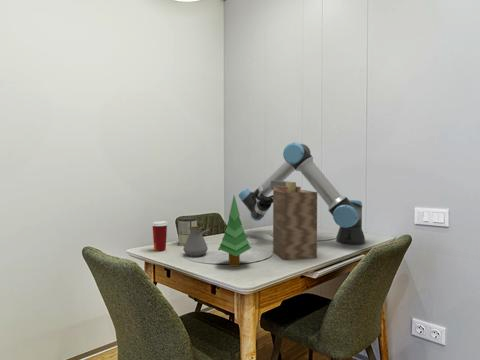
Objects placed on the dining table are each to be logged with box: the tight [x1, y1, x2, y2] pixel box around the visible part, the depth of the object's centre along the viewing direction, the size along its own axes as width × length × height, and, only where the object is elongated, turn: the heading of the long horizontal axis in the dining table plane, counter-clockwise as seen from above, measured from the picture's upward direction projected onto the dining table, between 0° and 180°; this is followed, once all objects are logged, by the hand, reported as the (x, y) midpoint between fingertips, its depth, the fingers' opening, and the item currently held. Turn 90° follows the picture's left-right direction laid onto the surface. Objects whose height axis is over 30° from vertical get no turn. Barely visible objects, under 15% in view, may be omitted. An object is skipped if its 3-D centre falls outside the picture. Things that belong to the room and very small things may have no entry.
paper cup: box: [151, 220, 168, 252], centre depth 168 cm, size 8×8×14 cm
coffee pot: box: [182, 220, 226, 257], centre depth 162 cm, size 21×12×15 cm, turn 119°
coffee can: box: [177, 216, 198, 247], centre depth 182 cm, size 10×10×14 cm
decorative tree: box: [217, 195, 252, 267], centre depth 142 cm, size 14×16×30 cm
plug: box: [271, 180, 297, 193], centre depth 161 cm, size 4×22×4 cm, turn 14°
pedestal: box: [272, 185, 318, 261], centre depth 158 cm, size 16×14×32 cm
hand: (274, 187), depth 170 cm, fingers open, 13 cm apart
